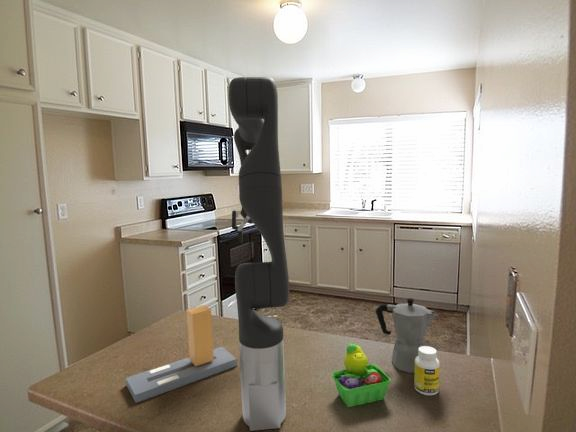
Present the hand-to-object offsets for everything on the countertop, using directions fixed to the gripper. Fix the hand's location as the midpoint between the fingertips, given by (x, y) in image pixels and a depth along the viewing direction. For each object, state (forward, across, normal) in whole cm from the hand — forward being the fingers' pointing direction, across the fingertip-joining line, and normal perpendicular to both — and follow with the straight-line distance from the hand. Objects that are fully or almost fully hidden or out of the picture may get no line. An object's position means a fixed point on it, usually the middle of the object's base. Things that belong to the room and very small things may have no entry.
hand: (255, 241), depth 121 cm
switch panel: (+29, -20, -26) cm, 44 cm away
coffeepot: (+29, +38, -28) cm, 56 cm away
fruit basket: (+30, +22, -41) cm, 55 cm away
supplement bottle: (+30, +38, -40) cm, 63 cm away
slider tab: (+27, -15, -23) cm, 39 cm away
